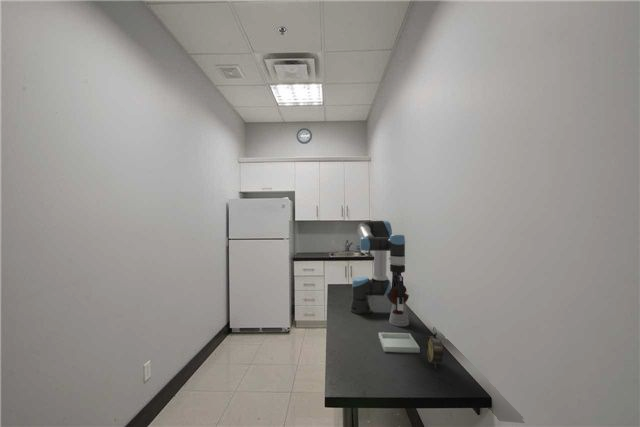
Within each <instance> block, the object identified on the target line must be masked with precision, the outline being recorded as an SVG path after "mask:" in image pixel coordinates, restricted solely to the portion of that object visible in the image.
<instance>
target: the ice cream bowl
mask: <svg viewBox="0 0 640 427" xmlns="http://www.w3.org/2000/svg"><path fill="white" fill-rule="evenodd" d="M407 290H408V289H407V287H406V286H405V285H404V296H405V297H403V304H404V303H405V304H406V303H407V302H408V300H409V297H410V294H408V293H407V292H406V291H407ZM401 295H402V294H401ZM397 296H398V292H397V285H395V287H393V288H391V290H390V292H389V293H387V296H386V297H387V299H388V300H389V302H391V303H392V304H395V305H396V310H394V311H393V312H392V313H394V314H397V315H401V314H403V312H402V311H398V310H397Z"/></svg>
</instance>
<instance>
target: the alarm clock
mask: <svg viewBox="0 0 640 427" xmlns="http://www.w3.org/2000/svg"><path fill="white" fill-rule="evenodd" d="M432 331H433V335H428V336H427V337H426V343H425V344H426V345H425V346H426V347H425V349H426V350H425V351H426V357H427V360H428V362H429V363H430V364H434V368H435V369H434V370H437V369H438V368H437V365H441V364H442V363H443V360H444V357H445V356H444V355H445V353H444V346H443V342H442V340H441V338H440V337H438V336H437V329H436V327H435V326H433V330H432Z"/></svg>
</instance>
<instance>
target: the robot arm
mask: <svg viewBox="0 0 640 427" xmlns="http://www.w3.org/2000/svg"><path fill="white" fill-rule="evenodd" d="M355 231H356V235H357V237H359V249H360V250H361V251H365V252H370V251H371V252H372V251H373V253H374V254H373V255H374V256H373V259H374V260H373V262H374V263H373V275H371V279H370V278H369V277H368V276H359V277H355V278H354V279H353V280H352V285H351V286H352V290H351V291H352V294H351V295H352V296H351V297H352V300H351V301H350V302H351V303H350V306H349V311H350V312H351V313H354V314H356V315H357V314H358V315H366V314H368V315H369V313H372V306H371V303H370V299H369V297H380V298H381V297H387V293H389V292H390V290H391V289H392V288H393V287H395V285H397V292H398V296H397V310H398V311H403V297H405V296H404V286H405V284H404V276H403V275H402V273H405V272H406V265H405V264H406V238H405V235H404V234H393V230H392V226H391V222H390V221H389V220H365V221H362V222H360V223H359V224H358V225H357V227H356V229H355ZM388 252H389V258H388V259H389V263H390V265H389V271H390V272H391V274H392V277H391V278H392V279H389V277H388V276H387V256H388V255H387V253H388ZM401 294H402V295H401Z"/></svg>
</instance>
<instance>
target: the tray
mask: <svg viewBox="0 0 640 427" xmlns="http://www.w3.org/2000/svg"><path fill="white" fill-rule="evenodd" d="M378 339H380V340H379V342H380V344H381V347H382V349H383V352H384V353H412V354H416V353H417V354H420V351H421V350H420V349H421V348H420V346H419V344H418V343H417V342H416V340H415V339H414V337H413V336H412V334H411V333H410V332H409V333H407V332H378Z"/></svg>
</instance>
